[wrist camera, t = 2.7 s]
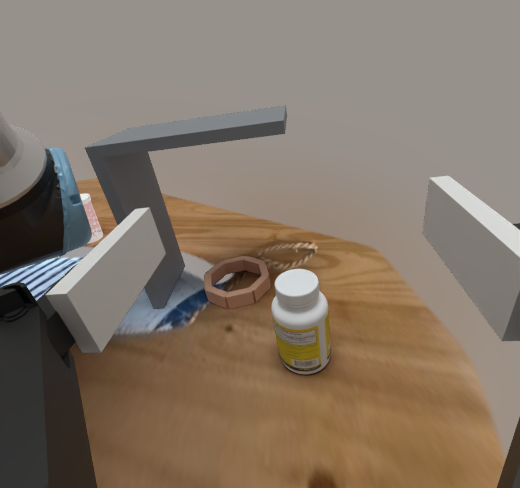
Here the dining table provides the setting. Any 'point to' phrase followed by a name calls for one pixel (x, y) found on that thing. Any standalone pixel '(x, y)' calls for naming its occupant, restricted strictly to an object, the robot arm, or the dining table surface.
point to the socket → (242, 295)
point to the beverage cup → (91, 218)
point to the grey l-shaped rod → (144, 180)
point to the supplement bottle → (301, 322)
